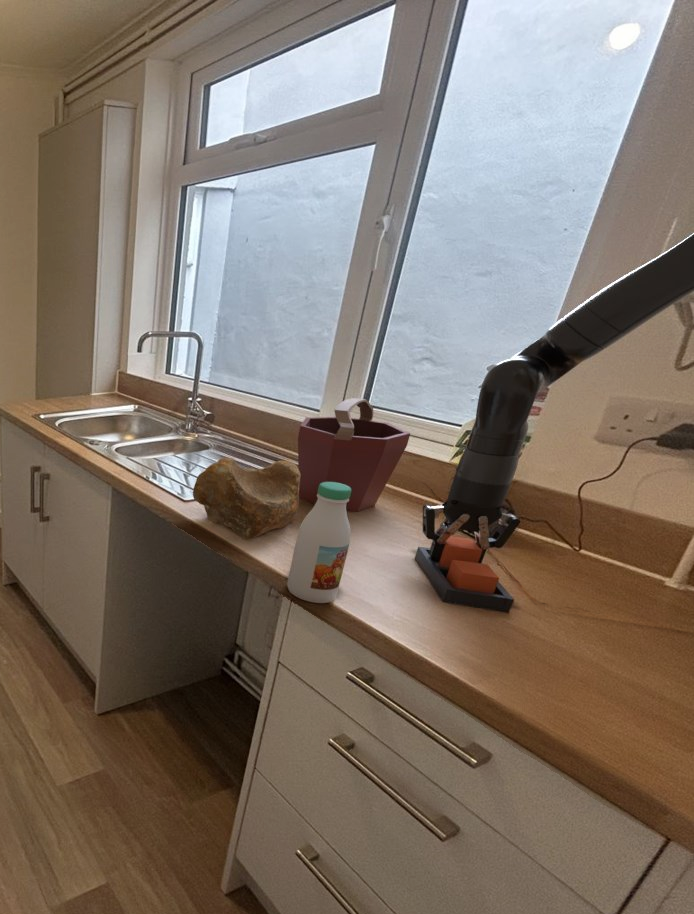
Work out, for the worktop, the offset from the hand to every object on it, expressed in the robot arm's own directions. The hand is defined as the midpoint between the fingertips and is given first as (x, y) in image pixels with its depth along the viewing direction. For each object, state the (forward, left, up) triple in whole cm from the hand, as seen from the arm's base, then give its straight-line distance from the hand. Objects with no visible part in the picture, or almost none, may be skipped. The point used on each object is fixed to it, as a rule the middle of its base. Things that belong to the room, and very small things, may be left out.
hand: (453, 561), depth 97 cm
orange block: (0, 0, 0) cm, 0 cm away
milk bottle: (+25, +17, -2) cm, 30 cm away
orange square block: (0, +8, -2) cm, 8 cm away
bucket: (+15, -35, -2) cm, 38 cm away
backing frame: (0, +4, -2) cm, 5 cm away
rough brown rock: (+35, -8, -2) cm, 36 cm away
